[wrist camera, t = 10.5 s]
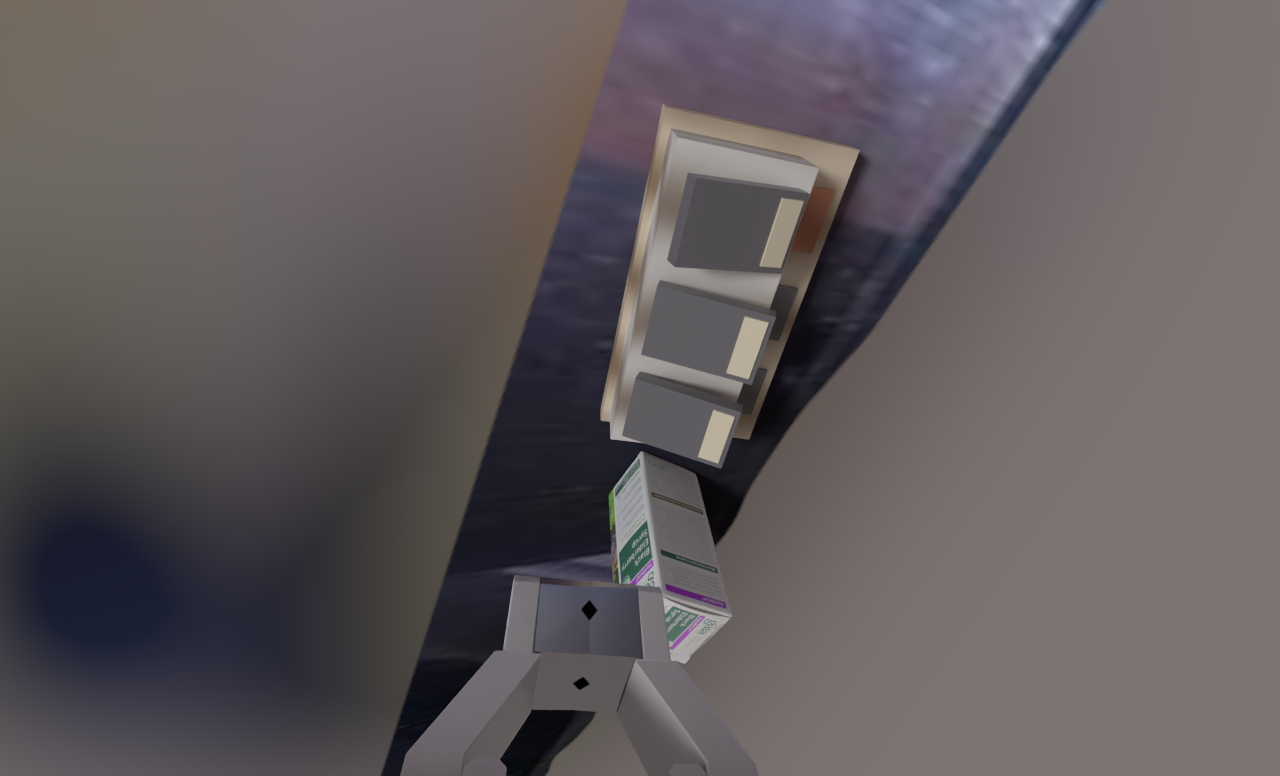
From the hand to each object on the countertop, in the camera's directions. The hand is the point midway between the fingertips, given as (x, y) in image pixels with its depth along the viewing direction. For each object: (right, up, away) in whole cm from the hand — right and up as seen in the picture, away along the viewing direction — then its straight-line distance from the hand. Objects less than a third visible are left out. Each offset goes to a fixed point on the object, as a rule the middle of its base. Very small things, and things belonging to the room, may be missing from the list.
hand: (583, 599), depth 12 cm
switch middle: (+5, +8, +22) cm, 24 cm away
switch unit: (+6, +11, +28) cm, 31 cm away
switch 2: (+4, +2, +25) cm, 26 cm away
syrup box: (+2, -4, +37) cm, 38 cm away
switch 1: (+6, +13, +19) cm, 24 cm away
